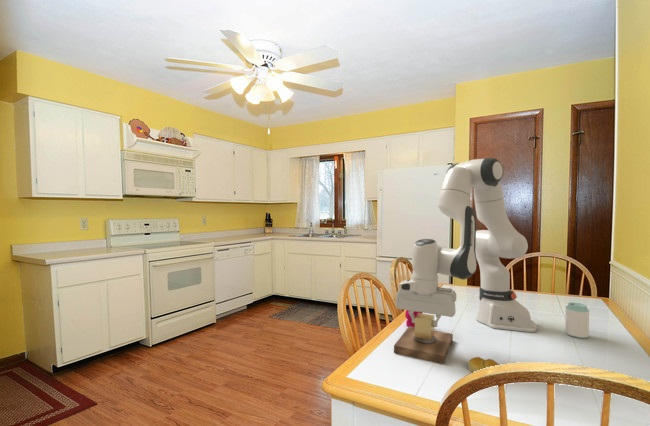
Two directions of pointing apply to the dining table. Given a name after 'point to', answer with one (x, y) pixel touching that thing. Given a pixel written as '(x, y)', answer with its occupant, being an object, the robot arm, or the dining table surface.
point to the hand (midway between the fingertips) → (424, 324)
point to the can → (577, 320)
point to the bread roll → (480, 363)
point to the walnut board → (424, 345)
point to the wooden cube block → (424, 326)
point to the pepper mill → (409, 319)
